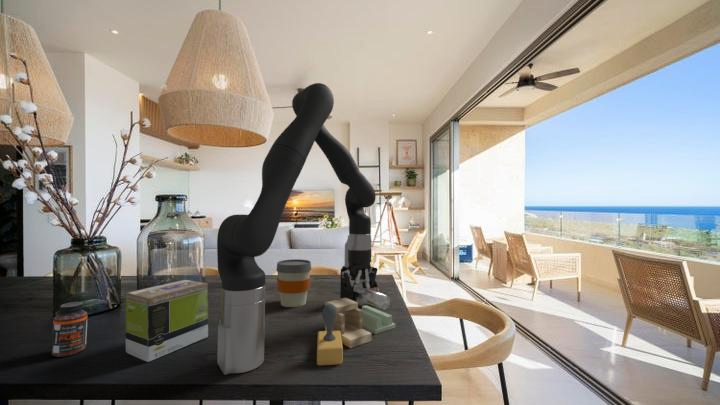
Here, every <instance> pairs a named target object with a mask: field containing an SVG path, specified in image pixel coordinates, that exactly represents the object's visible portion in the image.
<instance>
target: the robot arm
mask: <svg viewBox="0 0 720 405" xmlns="http://www.w3.org/2000/svg"><path fill="white" fill-rule="evenodd" d="M334 103H335V102H334V95H333V91H332V90H331V89H330V87H329V86H327V84H324V83H321V82H316V83H311V84H309V85H308V86H306V87H305V88H304V89H302V90H300V91H299V92H297V93H295V95H294V96H293V98H292V102H291V105H292V109H293V113H294V115H295V118H294V119H293V120H292V121H291V122H290V123H289V124H288V126H286V128H284V130H282V132H281V133H280V134H279V135H278V137H277V138H276V139H275V140H274V142H273V144H272V145H271V147H270V149H269V150H268V153H267V154H266V156H265V158H264V161H263V162H262V167H261V184H262V185H261V191H260V193H259V196H258V198H257V200H256V201H255V203H254V205H253V207H252V209H251V211H250V212H249V214H231V215H229V216H228V217H226V218H225V219H224V220H223V221H222V222H221V224H220V225H219V228H218V230H217V238H216V252H217V253H216V254H217V258H216V259H217V271H218V272H217V273H218V275H219V278H220V280H221V293H220V294H221V297H220V300H221V301H220V302H221V303H220V319H219V320H218V322H217V356H216V357H217V359H216V361H217V362H216V363H217V365H218V367H219V369H220V370H221V372H222V374H223V375H225V376H226V375H230V374H242V373H247V372H251V371H253V370H256V368H258V367H260V366H262V364H263V363H264V361H265V333H266V332H265V330H266V329H265V328H266V327H265V325H266V324H265V321H266V320H265V318H266V316H265V315H266V313H265V312H266V273H265V271H264V270H263V269H262V268H261V267H260V266H259V265H258V263H257V262H256V259H255V258H256V257H260V256H262V255H263V254H265V253H266V252H267V251H268V250H269V249H270V247H271V245H272V243H273V241H274V240H275V236H276V235H277V234H276V233H277V230H278V227H279V225H280V222H281V220H282V215H283V212H284V210H285V208H286V205H287V203H288V200H289V199H290V196H291V193H292V191H293V189H294V186H295V184H296V182H297V180H298V178H299V176H300V174H301V172H302V170H303V168H304V166H305V163H306V161H307V159H308V156H309V155H310V152H311V150H312V148H313V146H314V143H316V144H317V146H318V148H319V149H321V151H322V153H323V154H324V156H325V157H326V159H327V161H328V163H329V164H330V166H331V168H332V170H333V172H334V173H335V175H336V177H337V179H338V181H339V182H340V183H341V184H342V185H346V186H347V187H349V188H348V189H347V190H346V193H345V197H344V203H345V208H346V213H347V216H348V235H349V238H348V237H347V239H348V262H349V267H348V270H346V271H344V272H343V271H342V272H341V271H340V275H339V276H340V279H341V278H342V282H343V285H344V289H347V290H349V291H350V300H353V301H355V302H357V303H358V299H357V292H356V289H357V286H359V283H360V282H361V287H363V288H366V289H369V288H370V287H371V286H373V285H374V282H375V281H376V278H377V274H378V267H374V266H372V265H371V262H372V222H371V220H372V219H371V217H370V216H369V215H367V214H366V213H365V209H364V208H369V207H371V206H373V205H374V204H375V201H376V191H375V189H374V187H373V186H372V184H371V183H370V181H369V180H368V179H367V178H366V176H365V175H364V174H363V173H362V172H361V171H360V169H359V167H358V165H357V163H356V162H355V160H354V157H353V156H352V154H351V152H350V151H349V149H348V148H347V147H346V146H345V145H344V144H342V143H341V142H340V141H339V140H338V139H337V138H335V136H333V135H332V134H331V133H330V131H329V130H328V129H327V127H326V126H325V123H326V121H327V119H329V116H330V115H331V113H332V112H333V108H334ZM368 273H369V275H368ZM349 274H350V276H349ZM349 277H350V280H349ZM371 278H372V279H371ZM354 280H355V281H354ZM370 281H371V282H370ZM353 284H354V285H353Z"/></svg>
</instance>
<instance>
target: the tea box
mask: <svg viewBox="0 0 720 405" xmlns="http://www.w3.org/2000/svg"><path fill="white" fill-rule="evenodd" d="M208 285H209V284H208V283H207V282H201V281H195V280H190V279H189V280H188V279H182V280H181V279H180V280H177V281H173V282H168V283H164V284H160V285H155V286H150V287H146V288H142V289H138V290H133V291H128V292H125V334H124V335H125V353H127V354H129V355H130V356H132V357H135V358H136V359H140V360H141V361H145V362H147V363H149V362H152V361H154V360H157V359H158V358H162V357H164V356H166V355H169V354H171V353H173V352H175V351H178V350H180V349H182V348H185V347H188V346H189V345H192V344H194V343H197V342H199V341H201V340H205V339H206V338H208V337H209V286H208Z"/></svg>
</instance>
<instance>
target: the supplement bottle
mask: <svg viewBox="0 0 720 405" xmlns="http://www.w3.org/2000/svg"><path fill="white" fill-rule="evenodd" d="M83 306H84V304H83V302H82V301H72V302H67V303H63V304H61V305H59V313H58V314H57V315H55V316H54V318H53V320H52V337H51V340H52V341H51V355H52V356H53V357H57V358H63V357H68V356H69V357H70V356H73V355H75V354H78V353H80V352H82V351H84V350H85V349H86V347H87V336H88V335H87V333H88V311H86V310H84V309H83V308H84V307H83Z"/></svg>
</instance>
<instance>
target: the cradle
mask: <svg viewBox="0 0 720 405" xmlns="http://www.w3.org/2000/svg"><path fill="white" fill-rule="evenodd" d="M361 310H362V328H363V329H364V330H366V331H368V332H370V333H372V334H374V335H378V334H380V333H383V332H386V331H389V330H393V329H396V327H397V325H396V324H397V323H395V322H393V315H392V314H390V313H389V314H388V313H387V312H384V311H382V310H379V309H376V308H374V307H373V306H370V305H365V304H364V305H362V306H361Z"/></svg>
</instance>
